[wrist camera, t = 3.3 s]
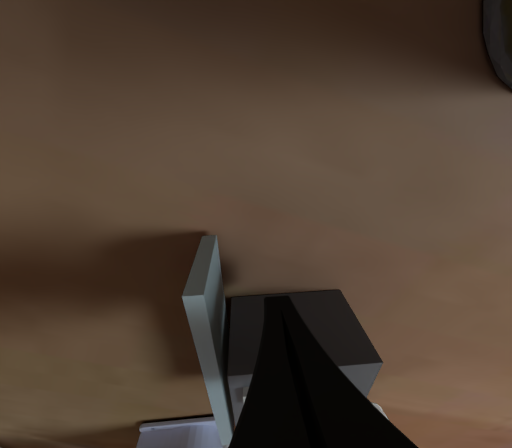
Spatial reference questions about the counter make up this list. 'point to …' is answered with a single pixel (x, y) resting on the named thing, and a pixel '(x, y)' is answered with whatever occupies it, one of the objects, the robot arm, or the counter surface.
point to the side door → (211, 331)
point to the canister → (499, 36)
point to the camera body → (322, 327)
